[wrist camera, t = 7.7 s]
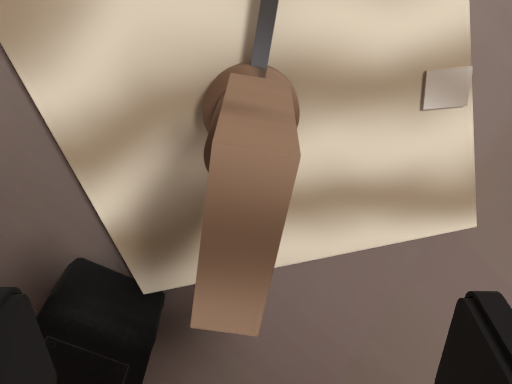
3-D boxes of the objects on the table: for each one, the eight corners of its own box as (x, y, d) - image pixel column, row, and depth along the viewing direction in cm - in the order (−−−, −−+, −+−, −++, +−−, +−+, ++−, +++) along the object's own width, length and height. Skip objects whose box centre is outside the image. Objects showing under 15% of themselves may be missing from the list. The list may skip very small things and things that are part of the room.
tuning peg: (285, 170, 22) (297, 341, 13) (199, 157, 22) (148, 322, 13) (344, -98, 16) (447, -136, 7) (227, -121, 16) (172, -192, 7)
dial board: (466, 211, 25) (478, 228, 24) (149, 277, 28) (142, 296, 27) (444, -243, 15) (462, -261, 14) (-36, -62, 19) (-62, -61, 17)
